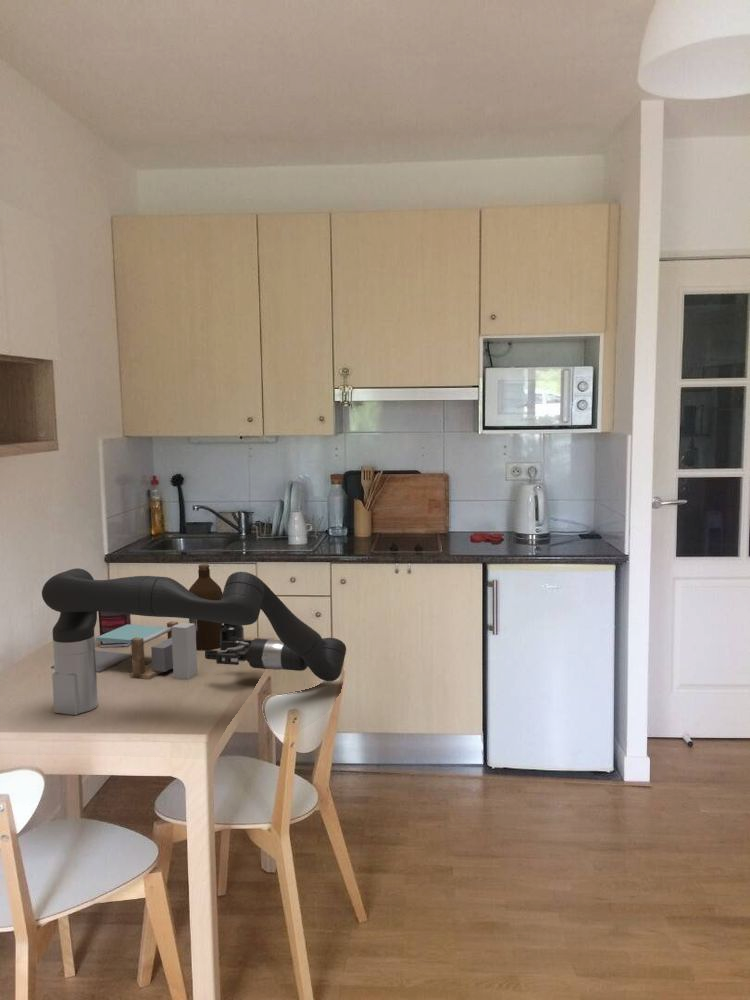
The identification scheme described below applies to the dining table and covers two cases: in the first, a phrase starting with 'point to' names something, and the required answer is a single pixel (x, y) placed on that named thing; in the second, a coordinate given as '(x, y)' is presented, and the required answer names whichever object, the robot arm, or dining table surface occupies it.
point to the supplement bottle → (231, 633)
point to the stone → (184, 651)
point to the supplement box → (112, 626)
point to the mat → (107, 659)
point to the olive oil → (204, 629)
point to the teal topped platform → (160, 652)
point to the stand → (138, 658)
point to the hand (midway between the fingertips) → (213, 649)
